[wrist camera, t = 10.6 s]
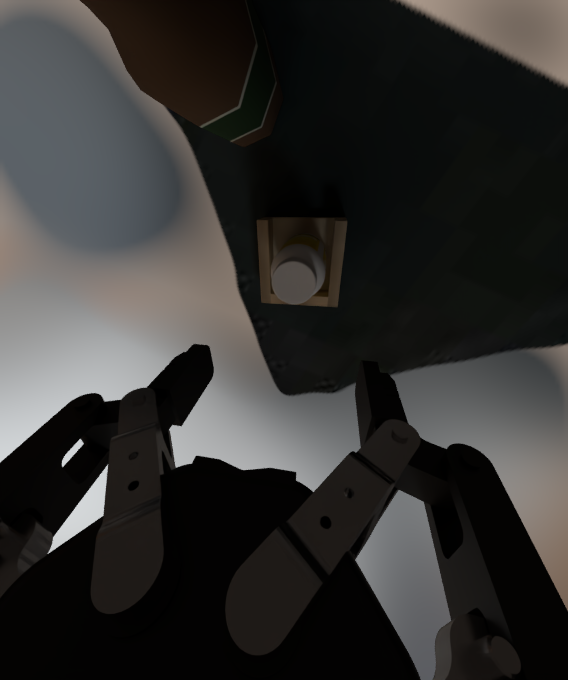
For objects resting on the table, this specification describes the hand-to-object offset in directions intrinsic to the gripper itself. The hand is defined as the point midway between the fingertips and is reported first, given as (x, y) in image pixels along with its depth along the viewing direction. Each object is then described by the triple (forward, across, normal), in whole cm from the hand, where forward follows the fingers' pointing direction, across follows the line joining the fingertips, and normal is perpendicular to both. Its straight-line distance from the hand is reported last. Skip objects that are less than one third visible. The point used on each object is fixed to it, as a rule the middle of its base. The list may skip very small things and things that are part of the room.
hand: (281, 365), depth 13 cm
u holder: (+21, +1, 0) cm, 21 cm away
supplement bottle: (+20, +1, -1) cm, 21 cm away
